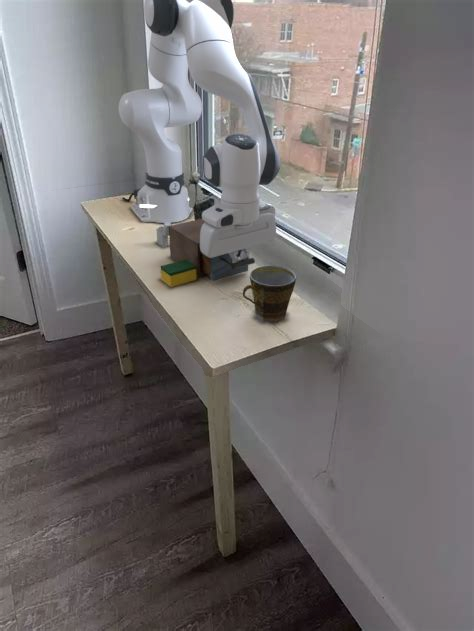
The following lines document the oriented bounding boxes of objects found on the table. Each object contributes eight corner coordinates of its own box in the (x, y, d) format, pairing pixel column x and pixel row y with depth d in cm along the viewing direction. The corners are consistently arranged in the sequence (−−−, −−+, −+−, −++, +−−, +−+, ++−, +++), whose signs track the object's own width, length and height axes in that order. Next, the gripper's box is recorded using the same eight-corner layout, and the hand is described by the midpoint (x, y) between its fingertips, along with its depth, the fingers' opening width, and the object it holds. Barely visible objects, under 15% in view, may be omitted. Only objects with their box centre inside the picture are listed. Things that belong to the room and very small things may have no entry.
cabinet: (236, 265, 136) (237, 233, 132) (198, 276, 130) (197, 243, 126) (207, 247, 146) (206, 217, 142) (170, 257, 140) (168, 226, 136)
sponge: (161, 279, 128) (160, 265, 126) (186, 272, 132) (185, 259, 130) (170, 287, 125) (170, 273, 123) (196, 279, 129) (196, 266, 127)
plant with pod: (221, 237, 153) (221, 170, 143) (185, 242, 150) (182, 174, 140) (212, 228, 160) (212, 163, 150) (177, 232, 156) (175, 166, 146)
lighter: (156, 242, 149) (155, 216, 145) (162, 241, 150) (160, 215, 146) (167, 251, 144) (166, 224, 140) (173, 249, 145) (171, 223, 141)
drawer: (261, 279, 127) (263, 252, 124) (226, 290, 122) (226, 262, 118) (219, 253, 141) (219, 228, 137) (185, 262, 135) (184, 236, 132)
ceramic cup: (273, 300, 120) (275, 261, 115) (302, 318, 113) (306, 277, 108) (228, 316, 113) (229, 276, 108) (256, 336, 106) (258, 294, 101)
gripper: (266, 199, 124) (264, 251, 131) (195, 214, 114) (197, 270, 121) (283, 205, 120) (280, 259, 127) (210, 222, 110) (211, 280, 117)
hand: (239, 265), depth 124 cm, fingers closed, pressing on drawer
